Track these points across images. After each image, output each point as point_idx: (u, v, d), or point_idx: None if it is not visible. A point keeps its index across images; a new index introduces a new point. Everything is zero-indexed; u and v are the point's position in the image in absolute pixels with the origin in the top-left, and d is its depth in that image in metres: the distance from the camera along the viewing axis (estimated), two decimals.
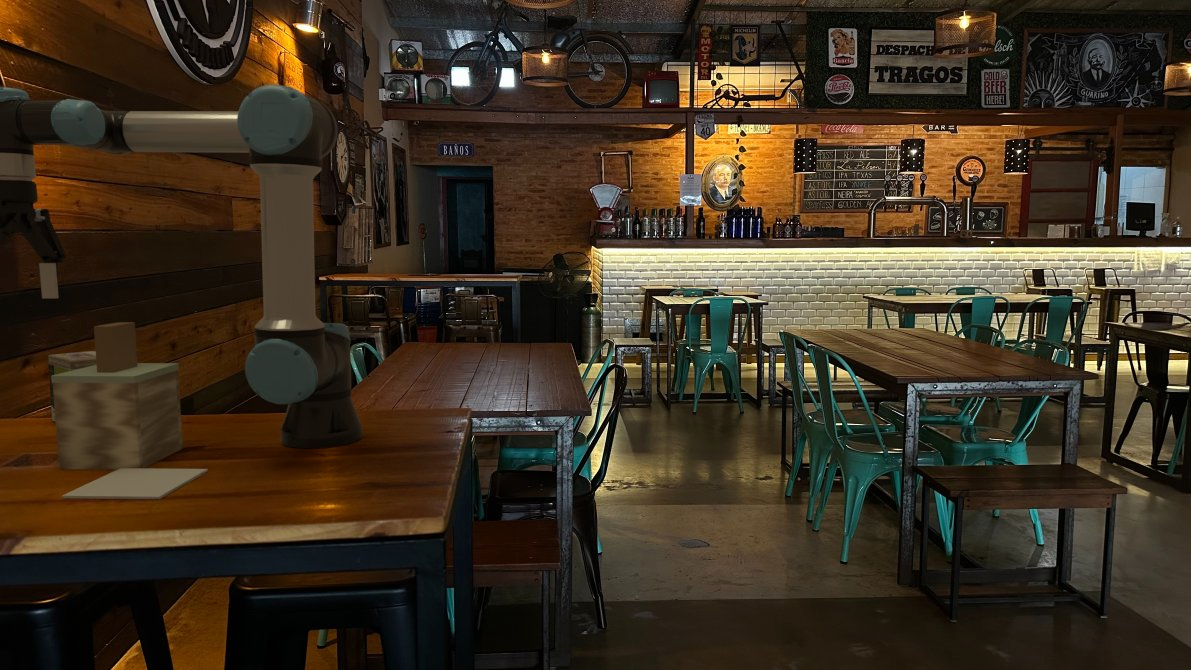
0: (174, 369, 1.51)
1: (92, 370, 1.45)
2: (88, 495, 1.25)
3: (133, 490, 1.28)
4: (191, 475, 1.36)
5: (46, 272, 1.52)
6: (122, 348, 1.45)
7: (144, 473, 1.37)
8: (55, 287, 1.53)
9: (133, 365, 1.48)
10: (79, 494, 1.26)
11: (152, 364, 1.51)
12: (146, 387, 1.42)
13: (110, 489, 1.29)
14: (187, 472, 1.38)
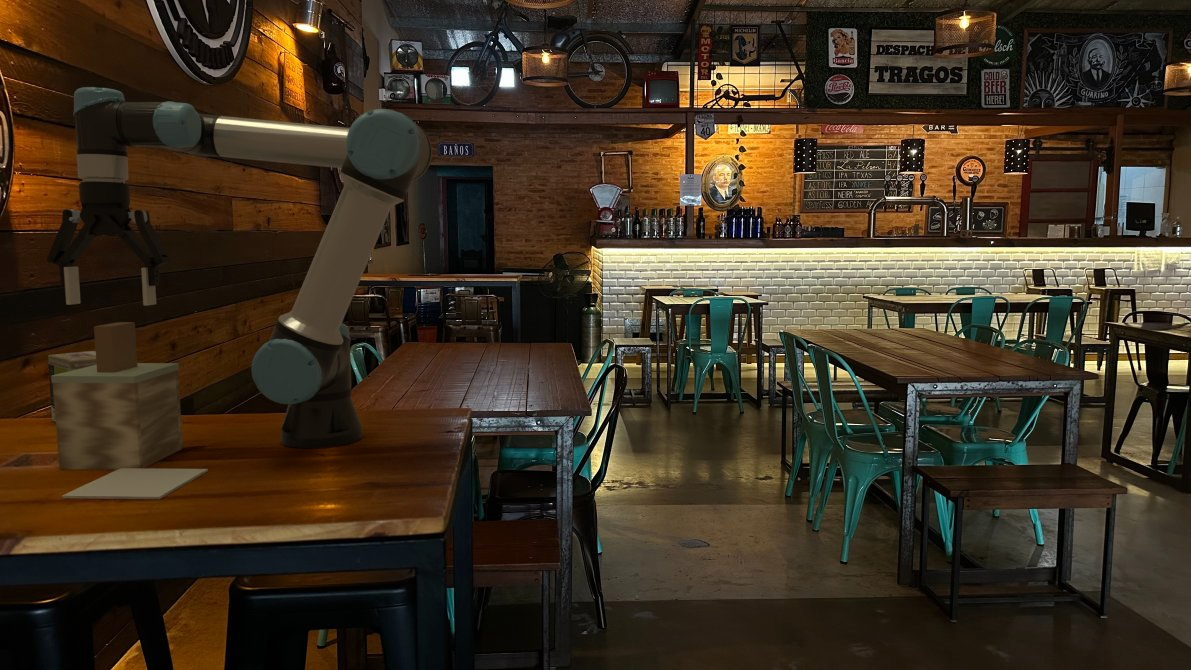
0: (174, 369, 1.51)
1: (92, 370, 1.45)
2: (88, 495, 1.25)
3: (133, 490, 1.28)
4: (191, 475, 1.36)
5: None
6: (122, 348, 1.45)
7: (144, 473, 1.37)
8: (143, 293, 1.43)
9: (133, 365, 1.48)
10: (79, 494, 1.26)
11: (152, 364, 1.51)
12: (146, 387, 1.42)
13: (110, 489, 1.29)
14: (187, 472, 1.38)
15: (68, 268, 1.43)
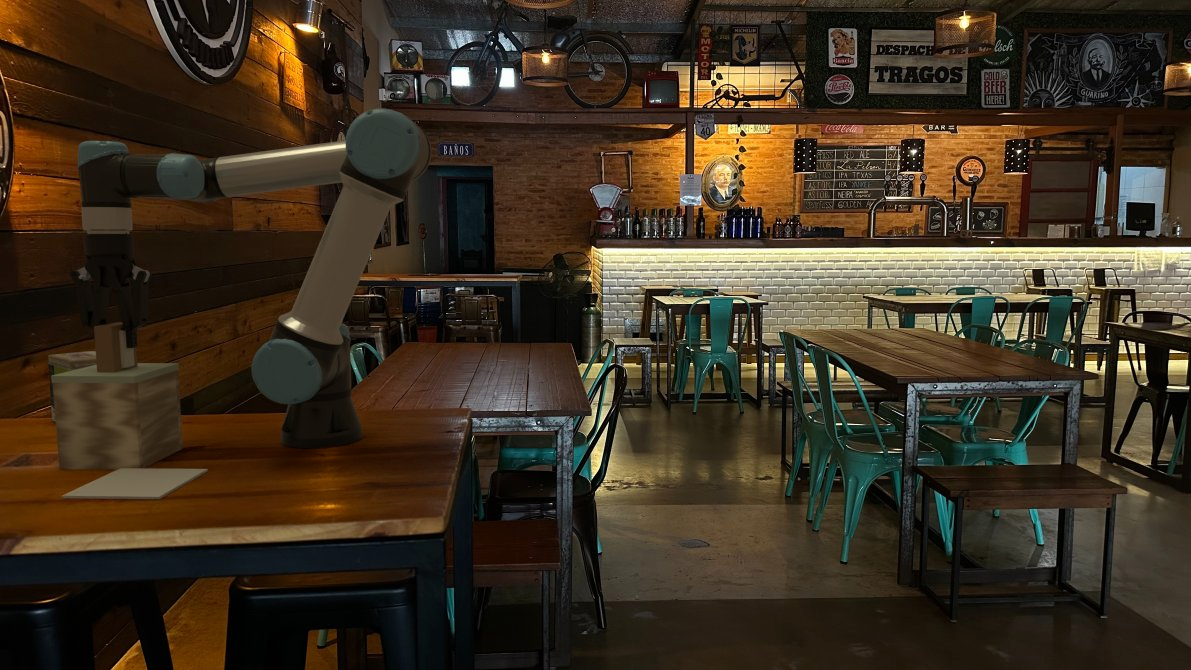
0: (174, 369, 1.51)
1: (92, 370, 1.45)
2: (88, 495, 1.25)
3: (133, 490, 1.28)
4: (191, 475, 1.36)
5: None
6: None
7: (144, 473, 1.37)
8: (121, 356, 1.44)
9: None
10: (79, 494, 1.26)
11: (152, 364, 1.51)
12: (146, 387, 1.42)
13: (110, 489, 1.29)
14: (187, 472, 1.38)
15: None
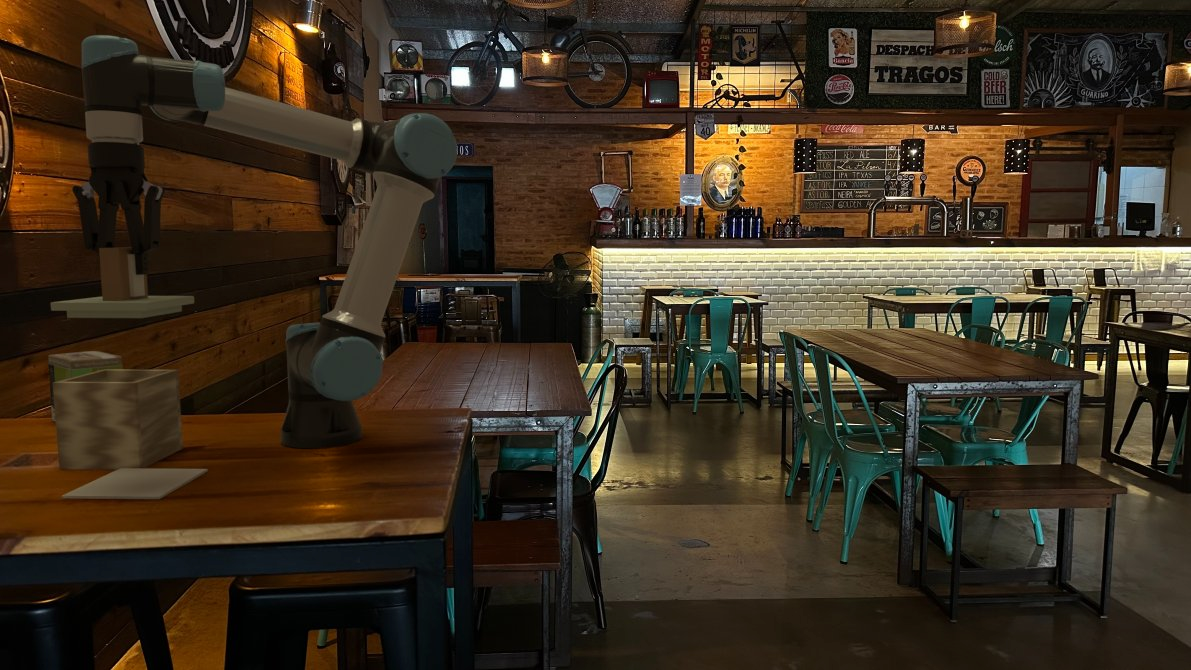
0: (189, 302, 1.34)
1: (97, 299, 1.28)
2: (88, 495, 1.25)
3: (133, 490, 1.28)
4: (191, 475, 1.36)
5: None
6: None
7: (144, 473, 1.37)
8: (130, 283, 1.27)
9: (143, 296, 1.31)
10: (79, 494, 1.26)
11: (164, 296, 1.35)
12: (146, 387, 1.42)
13: (110, 489, 1.29)
14: (187, 472, 1.38)
15: None
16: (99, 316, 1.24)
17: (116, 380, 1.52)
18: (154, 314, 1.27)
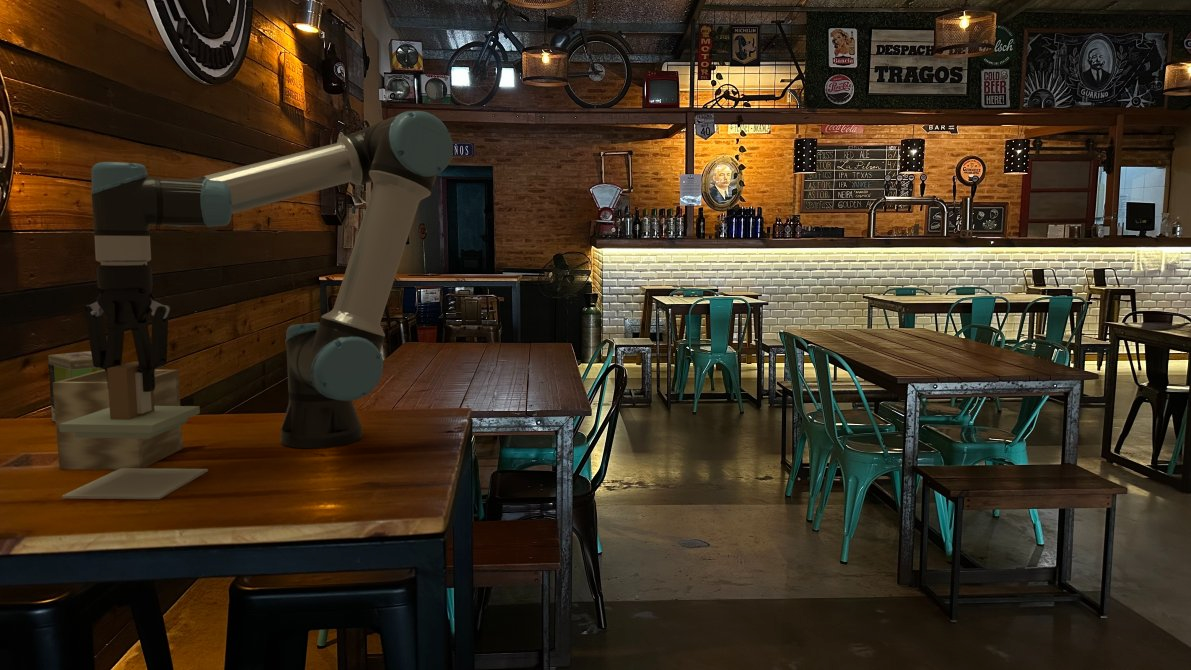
0: (195, 413, 1.36)
1: (104, 416, 1.30)
2: (88, 495, 1.25)
3: (133, 490, 1.28)
4: (191, 475, 1.36)
5: None
6: None
7: (144, 473, 1.37)
8: (137, 401, 1.29)
9: None
10: (79, 494, 1.26)
11: (170, 407, 1.37)
12: None
13: (110, 489, 1.29)
14: (187, 472, 1.38)
15: None
16: (107, 436, 1.26)
17: None
18: (161, 431, 1.29)
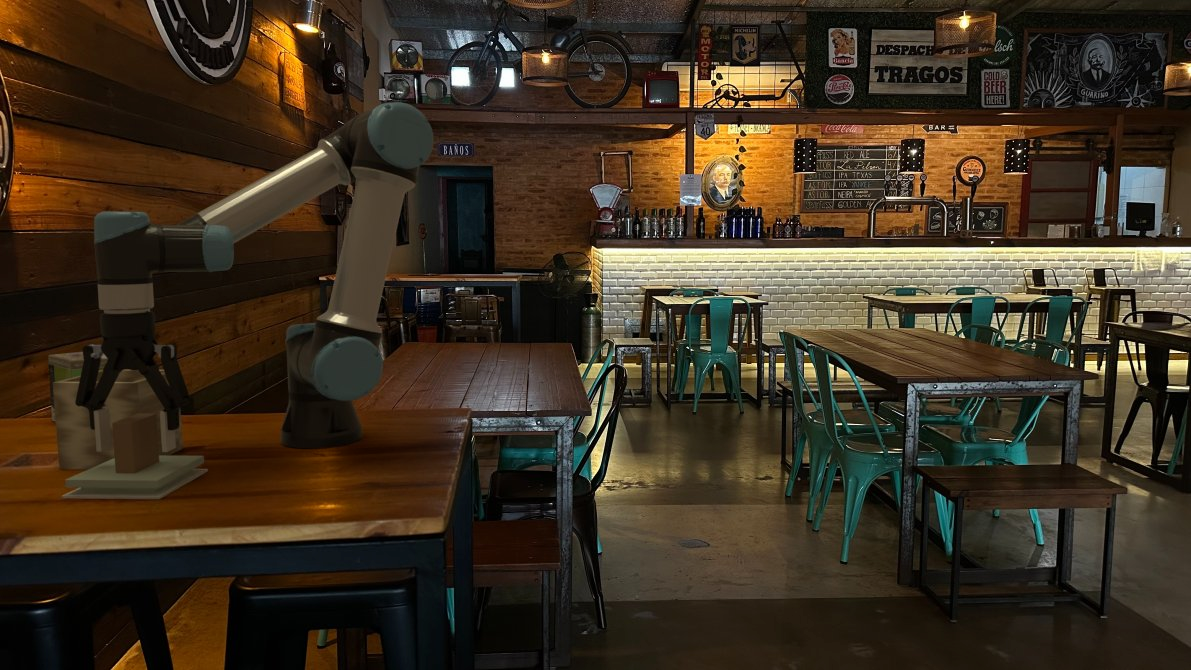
0: (199, 463, 1.38)
1: (110, 469, 1.31)
2: (88, 495, 1.25)
3: None
4: (191, 475, 1.36)
5: None
6: (143, 445, 1.31)
7: None
8: (162, 439, 1.30)
9: (155, 461, 1.34)
10: (79, 494, 1.26)
11: (175, 457, 1.38)
12: (146, 387, 1.42)
13: None
14: None
15: (98, 412, 1.30)
16: (112, 491, 1.27)
17: (116, 380, 1.52)
18: (166, 484, 1.30)
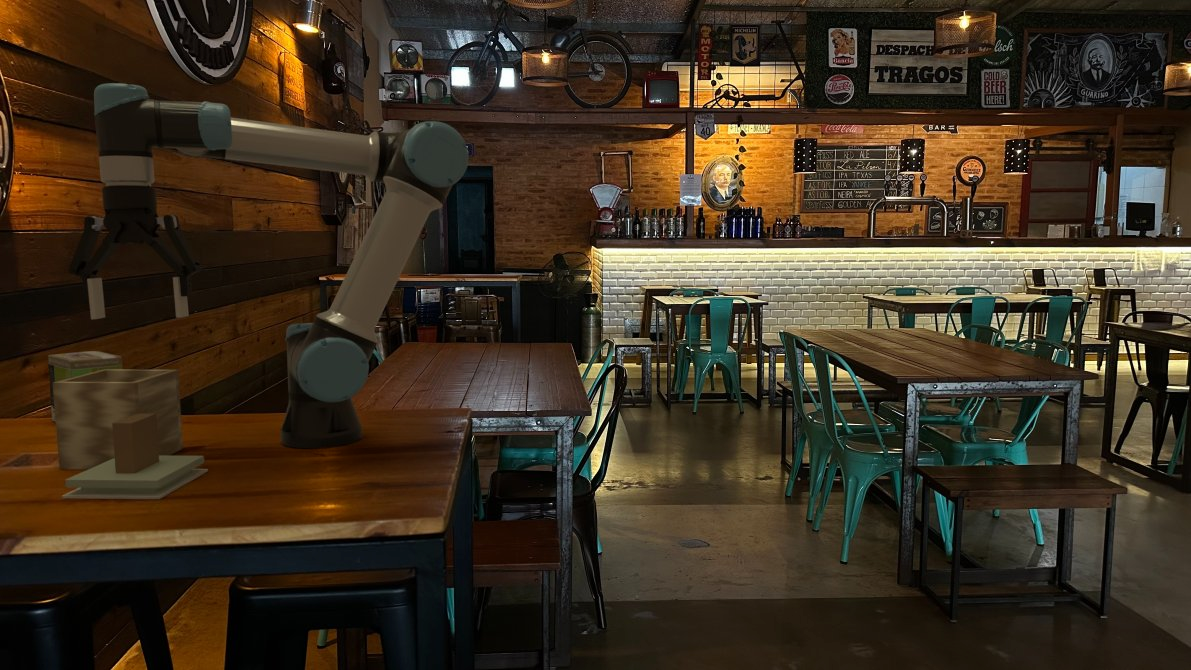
0: (199, 463, 1.38)
1: (110, 469, 1.31)
2: (88, 495, 1.25)
3: None
4: (191, 475, 1.36)
5: None
6: (143, 445, 1.31)
7: None
8: (176, 305, 1.33)
9: (155, 461, 1.34)
10: (79, 494, 1.26)
11: (175, 457, 1.38)
12: (146, 387, 1.42)
13: None
14: None
15: (92, 280, 1.32)
16: (112, 491, 1.27)
17: (116, 380, 1.52)
18: (166, 484, 1.30)
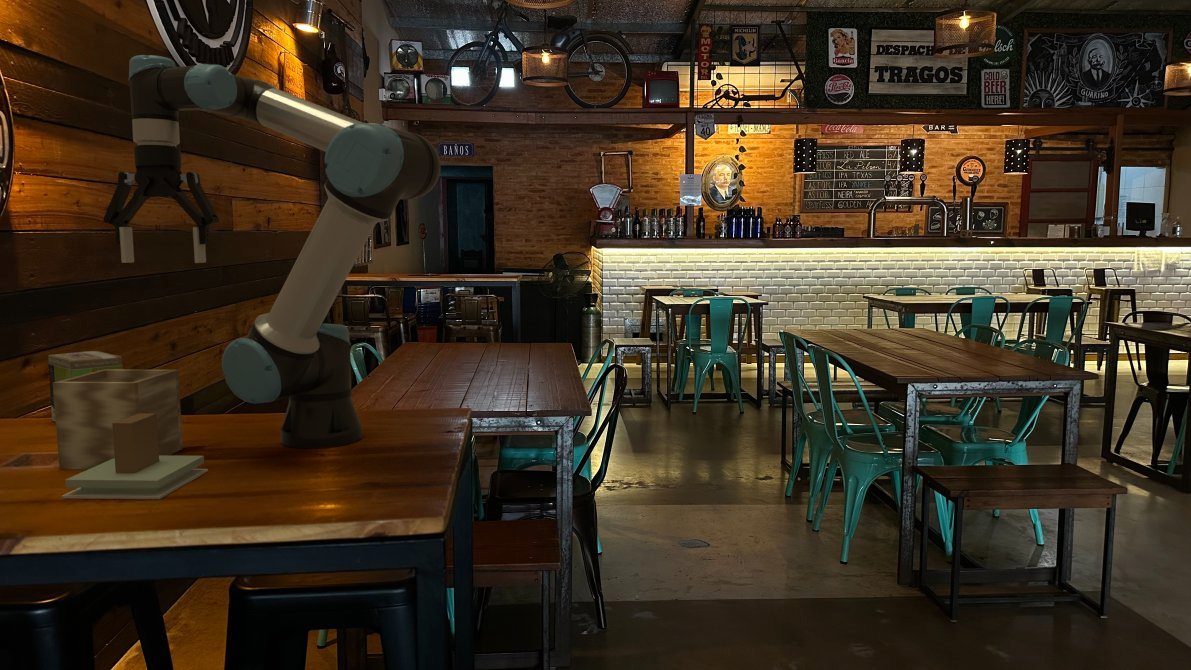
0: (199, 463, 1.38)
1: (110, 469, 1.31)
2: (88, 495, 1.25)
3: None
4: (191, 475, 1.36)
5: None
6: (143, 445, 1.31)
7: None
8: (195, 251, 1.51)
9: (155, 461, 1.34)
10: (79, 494, 1.26)
11: (175, 457, 1.38)
12: (146, 387, 1.42)
13: None
14: None
15: (123, 228, 1.51)
16: (112, 491, 1.27)
17: (116, 380, 1.52)
18: (166, 484, 1.30)
